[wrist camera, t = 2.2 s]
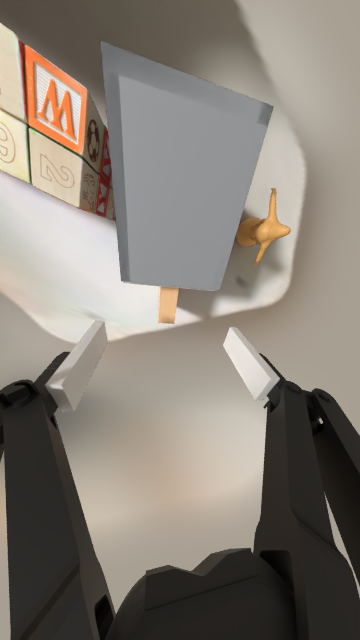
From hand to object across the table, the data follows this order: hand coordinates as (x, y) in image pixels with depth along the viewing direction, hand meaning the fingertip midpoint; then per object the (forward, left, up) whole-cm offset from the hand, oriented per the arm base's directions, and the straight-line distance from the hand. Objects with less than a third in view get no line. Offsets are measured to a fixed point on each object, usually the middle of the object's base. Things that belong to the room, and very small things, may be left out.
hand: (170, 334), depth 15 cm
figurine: (-11, +12, -15) cm, 22 cm away
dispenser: (-11, 0, -15) cm, 19 cm away
